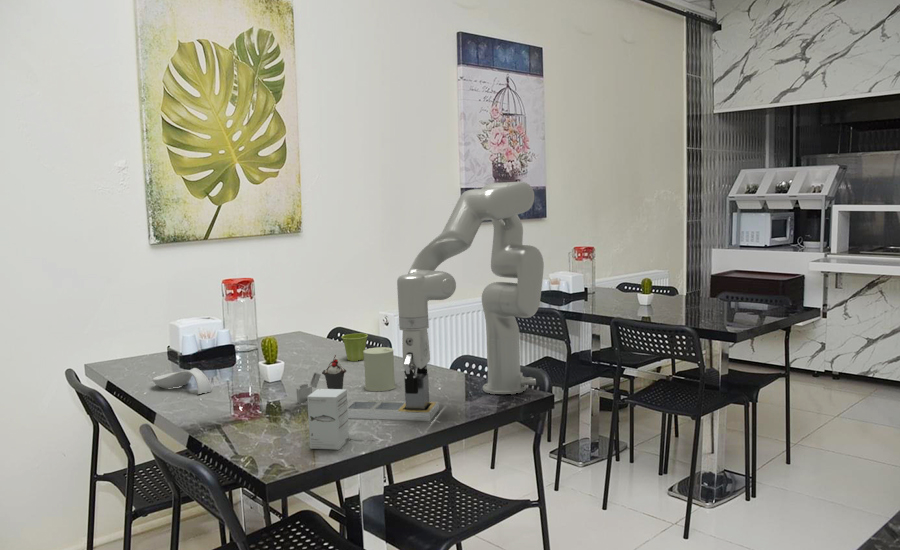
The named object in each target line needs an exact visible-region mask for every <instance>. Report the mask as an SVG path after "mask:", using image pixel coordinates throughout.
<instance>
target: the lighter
mask: <svg viewBox="0 0 900 550" xmlns="http://www.w3.org/2000/svg"><path fill="white" fill-rule="evenodd" d="M321 376H322V373H320V372H319V373H318V372H316V371H314V372H313V376H312V377H311V378H312V379H311V380H310V383H309V384H308V383H306V382H305V383H301V384H300V385H299V387H296V399H297V400H296V401H297V404H298V403H299V404H298V405H302V404H301V403H303V404H305V403H306V402H308V400H307V396H309V395H310V394H311V393H313V388H315V389H316V388H317V387H318V384H319V381H320V378H321Z"/></svg>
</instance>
